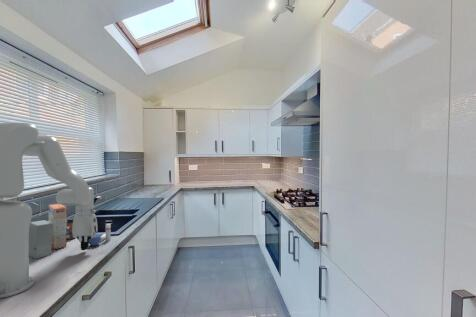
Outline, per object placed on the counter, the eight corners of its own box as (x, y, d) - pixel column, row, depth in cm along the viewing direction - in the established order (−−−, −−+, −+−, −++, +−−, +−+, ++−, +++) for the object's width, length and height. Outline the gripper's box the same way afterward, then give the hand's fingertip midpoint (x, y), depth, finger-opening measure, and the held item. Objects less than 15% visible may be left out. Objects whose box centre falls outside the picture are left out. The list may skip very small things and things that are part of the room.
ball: (104, 235, 131) (101, 246, 128) (93, 235, 131) (90, 246, 128) (99, 232, 126) (96, 244, 123) (87, 232, 126) (84, 244, 123)
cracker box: (67, 246, 125) (67, 206, 124) (52, 250, 120) (52, 208, 120) (61, 240, 134) (61, 202, 134) (47, 242, 130) (47, 204, 130)
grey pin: (109, 241, 133) (109, 225, 133) (104, 241, 133) (104, 225, 133) (111, 239, 136) (111, 223, 136) (106, 239, 136) (106, 223, 135)
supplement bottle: (69, 240, 133) (69, 220, 133) (62, 238, 136) (62, 219, 136) (80, 237, 139) (80, 218, 139) (73, 235, 141) (73, 216, 141)
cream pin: (101, 237, 132) (109, 231, 141) (96, 237, 132) (104, 232, 141) (101, 241, 132) (109, 236, 141) (97, 242, 132) (105, 236, 141)
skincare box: (26, 255, 113) (26, 222, 113) (44, 250, 120) (44, 219, 119) (35, 259, 109) (35, 225, 109) (53, 254, 116) (53, 221, 115)
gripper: (104, 210, 122) (104, 246, 122) (74, 210, 121) (74, 246, 122) (95, 214, 115) (95, 252, 115) (63, 214, 114) (63, 252, 114)
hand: (84, 249), depth 118 cm, fingers closed
